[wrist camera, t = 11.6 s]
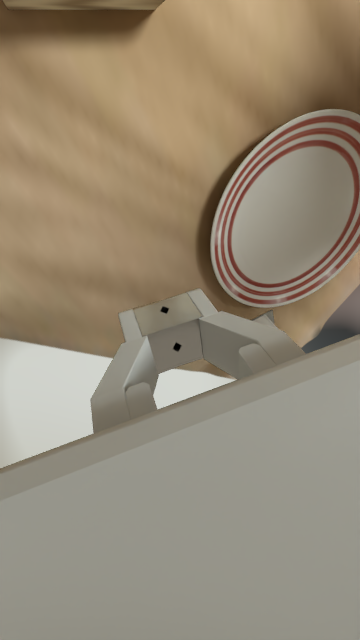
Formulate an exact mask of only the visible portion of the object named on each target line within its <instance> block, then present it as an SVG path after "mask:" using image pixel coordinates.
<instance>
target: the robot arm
mask: <svg viewBox="0 0 360 640" xmlns="http://www.w3.org/2000/svg"><path fill="white" fill-rule="evenodd" d="M118 316H119V320H120V324H121V328H122V331H123V335H124V339H125V343H122V344H121V345H120V347H119V349H118V351H117V353H116V354H115V356H114V358H113V360H112V362H111V363H110V365H109V367H108V369H107V371H106V372H105V374H104V376H103V378H102V380H101V382H100V383H99V385H98V387H97V389H96V390H95V392H94V394H93V396H92V398H91V410H92V421H93V432H94V434H91V435H89V436H86V437H83V438H81V439H78V440H75V441H73V442H70V443H67V444H65V445H62V446H60V447H57V448H54V449H51V450H49V451H46V452H43V453H41V454H38V455H36V456H33V457H30V458H27V459H25V460H22V461H19V462H16V463H14V464H11V465H8V466H6V467H3V468H0V640H360V334H359V335H357V336H354V337H351V338H348V339H346V340H343V341H341V342H338V343H335V344H332V345H330V346H327V347H324V348H322V349H320V350H316V351H314V352H311V353H308V354H305V352H304V351H302V349H301V348H300V347H299V346H298V345H297V344H296V343H295V342H294V341H293V340H292V339H291V338H290V337H289V336H288V335H287V334H286V333H285V332H284V331H281V330H278V329H275V328H272V327H269V326H266V325H263V324H260V323H257V322H254V321H251V320H248V319H245V318H242V317H239V316H236V315H233V314H230V313H227V312H224V311H220V312H218V311H217V310H216V308H215V307H214V306H213V305H212V303H211V302H210V301H209V299H208V298H207V297H206V295H205V294H204V293H203V291H202V290H201V289H200V288H197V289H194V290H191V291H188V292H186V293H183V294H180V295H177V296H174V297H171V298H168V299H165V300H161V301H157V302H153V303H150V304H147V305H143V306H140V307H136V308H133V310H132V309H129V310H126V311H123V312H119V313H118ZM202 358H204V359H205V360H206V361H208V362H210V363H211V364H213V365H215V366H216V367H218V368H220V369H221V370H223V371H225V372H226V373H228V374H230V375H231V376H233V377H235V378H236V379H238V380H236V381H233V382H231V383H228V384H225V385H223V386H220V387H217V388H214V389H212V390H209V391H207V392H204V393H201V394H198V395H196V396H193V397H190V398H188V399H186V400H182V401H180V402H177V403H174V404H172V405H169V406H166V407H164V408H161V409H158V410H157V407H156V404H155V401H154V398H153V393H154V390H155V387H156V383H157V379H158V374H160V373H162V372H165V371H167V370H170V369H173V368H175V367H178V366H181V365H184V364H187V363H190V362H193V361H196V360H199V359H202Z"/></svg>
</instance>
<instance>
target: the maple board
mask: <svg viewBox="0 0 360 640" xmlns="http://www.w3.org/2000/svg"><path fill="white" fill-rule="evenodd" d="M164 1H165V0H3V2H4V4H5V5H6V7H7V9H8V10H156V9H157V8H158V7H159V6H160V5H161V4H162V3H163V2H164Z"/></svg>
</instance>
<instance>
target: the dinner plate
mask: <svg viewBox="0 0 360 640" xmlns="http://www.w3.org/2000/svg"><path fill="white" fill-rule="evenodd" d="M359 249H360V115H359V114H356V113H354V112H351V111H348V110H342V109H325V110H318V111H314V112H311V113H307V114H304V115H302V116H299V117H297V118H295V119H293V120H291V121H289V122H288V123H286V124H284V125H283V126H281V127H279V128H278V129H276V130H275V131H274V132H272V133H271V134H270V135H268V136H267V137H266V138H265V139H264V140H263V141H261V142H260V143H259V144H258V145H257V146H256V147H255V148H254V149H253V150H252V151H251V152H250V153H249V154H248V156H247V157H246V158H245V159H244V160H243V162H242V163H241V164H240V165H239V167H238V168H237V170H236V171H235V173H234V174H233V176H232V177H231V179H230V181H229V183H228V184H227V186H226V189H225V191H224V192H223V194H222V197H221V199H220V202H219V204H218V207H217V210H216V213H215V217H214V220H213V225H212V230H211V240H210V252H211V261H212V266H213V270H214V273H215V275H216V278H217V280H218V282H219V283H220V285H221V286H222V288H223V289H224V290H225V291H226V292H227V293H228V294H229V295H230V296H231V297H232V298H234V299H235V300H237V301H238V302H241V303H243V304H246V305H249V306H253V307H262V308H268V307H277V306H282V305H286V304H289V303H292V302H295V301H297V300H300V299H302V298H304V297H306V296H308V295H310V294H311V293H313V292H315V291H316V290H318V289H319V288H321V287H322V286H324V285H325V284H326V283H328V282H329V281H330V280H331V279H332V278H334V277H335V276H336V275H337V274H338V273H339V272H340V271H341V270H342V269H343V268H344V267H345V266H346V265H347V264H348V262H349V261H350V260H351V259H352V258H353V257H354V255H355V254H356V253H357V252H358V250H359Z"/></svg>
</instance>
